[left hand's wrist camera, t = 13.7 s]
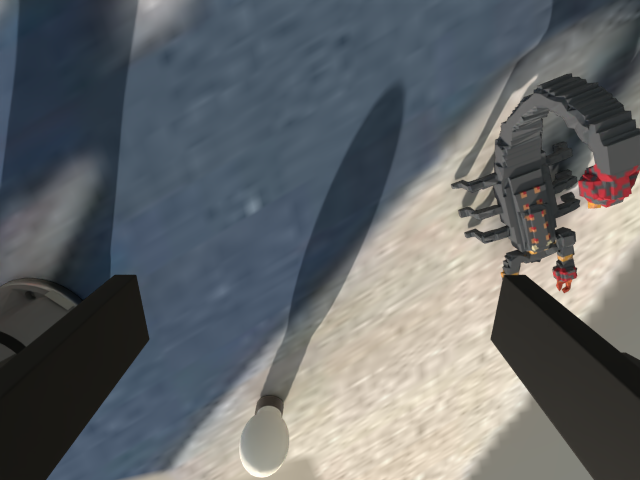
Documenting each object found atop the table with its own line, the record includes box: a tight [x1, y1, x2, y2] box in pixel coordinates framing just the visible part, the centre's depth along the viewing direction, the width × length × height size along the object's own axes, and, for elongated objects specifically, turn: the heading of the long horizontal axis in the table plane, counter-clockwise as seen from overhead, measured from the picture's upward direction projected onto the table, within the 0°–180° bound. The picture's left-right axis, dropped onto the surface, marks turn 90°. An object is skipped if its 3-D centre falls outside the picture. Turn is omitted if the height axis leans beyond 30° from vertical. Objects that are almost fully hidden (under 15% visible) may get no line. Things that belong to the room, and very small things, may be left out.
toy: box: [451, 73, 640, 293], centre depth 35 cm, size 13×27×18 cm, turn 22°
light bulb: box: [239, 396, 289, 477], centre depth 50 cm, size 7×7×11 cm
